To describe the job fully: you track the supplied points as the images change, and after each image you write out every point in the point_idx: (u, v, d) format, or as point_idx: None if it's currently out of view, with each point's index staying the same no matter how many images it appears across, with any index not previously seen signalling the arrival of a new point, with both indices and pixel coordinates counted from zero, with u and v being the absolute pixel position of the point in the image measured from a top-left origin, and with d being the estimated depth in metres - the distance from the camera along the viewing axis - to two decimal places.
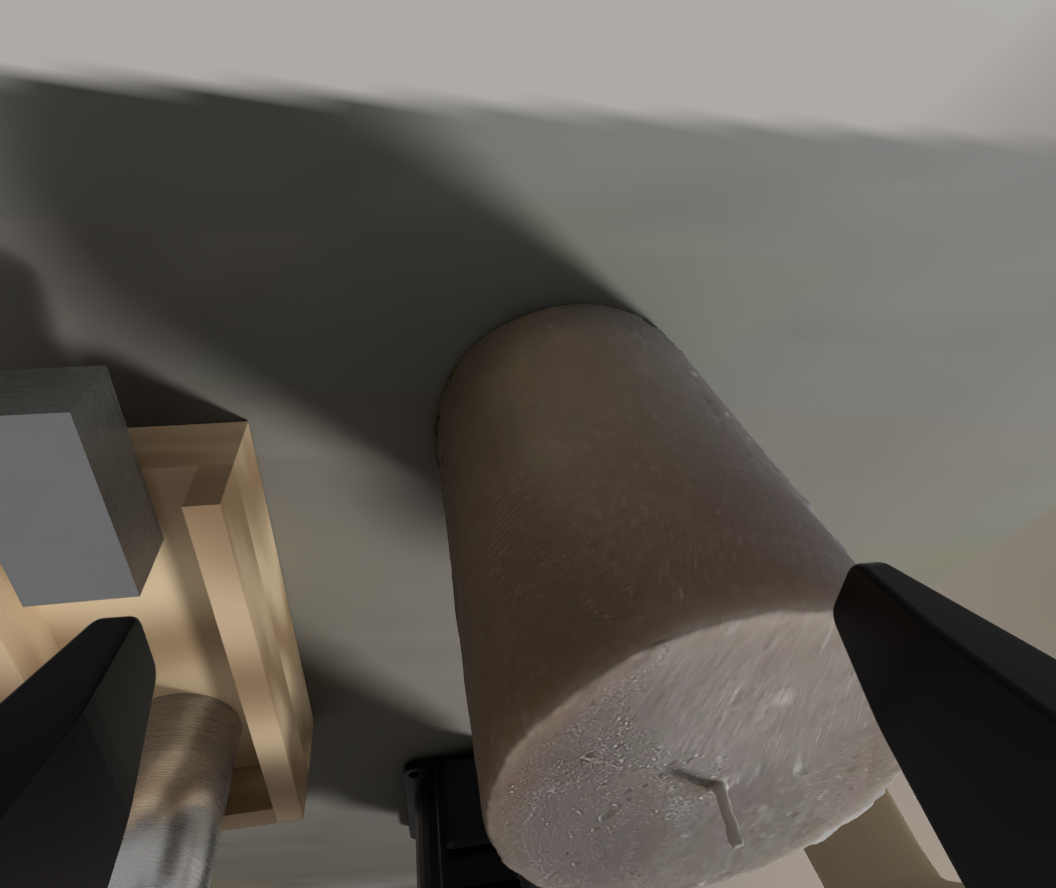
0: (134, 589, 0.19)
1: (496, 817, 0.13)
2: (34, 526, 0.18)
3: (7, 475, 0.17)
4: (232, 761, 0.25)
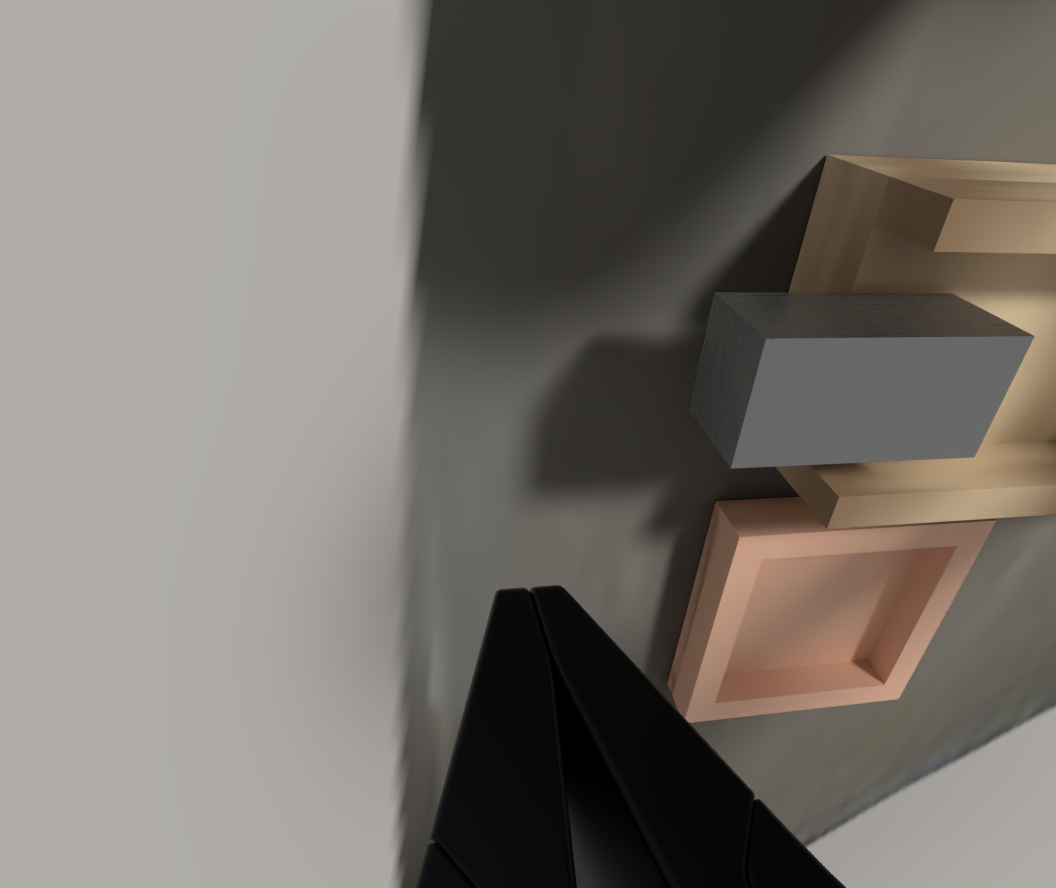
0: (1021, 339, 0.14)
1: None
2: (885, 416, 0.15)
3: (816, 421, 0.14)
4: None
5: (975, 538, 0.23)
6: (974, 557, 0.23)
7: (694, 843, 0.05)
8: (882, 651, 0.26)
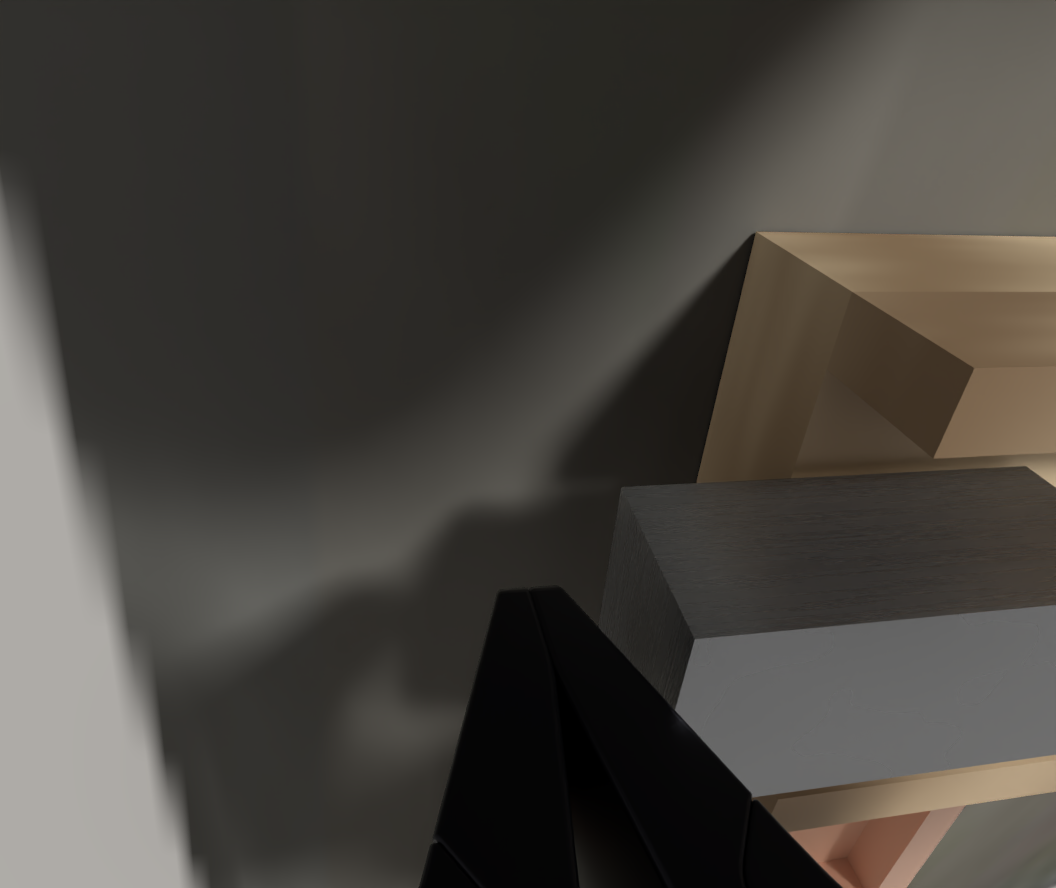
0: None
1: None
2: (922, 720, 0.08)
3: (797, 739, 0.08)
4: None
5: None
6: None
7: (691, 843, 0.05)
8: (867, 855, 0.20)
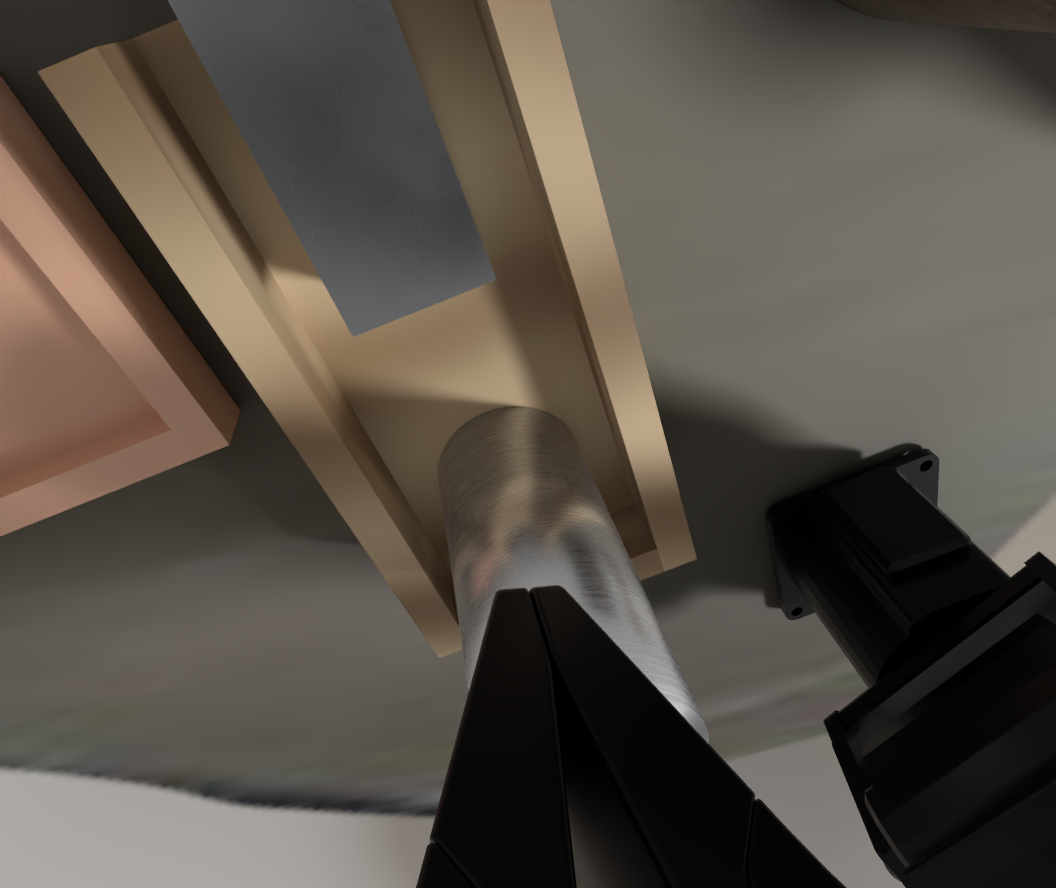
0: (488, 267, 0.13)
1: None
2: (341, 176, 0.12)
3: (289, 78, 0.11)
4: (593, 478, 0.18)
5: (193, 442, 0.18)
6: (173, 466, 0.18)
7: (694, 843, 0.05)
8: None
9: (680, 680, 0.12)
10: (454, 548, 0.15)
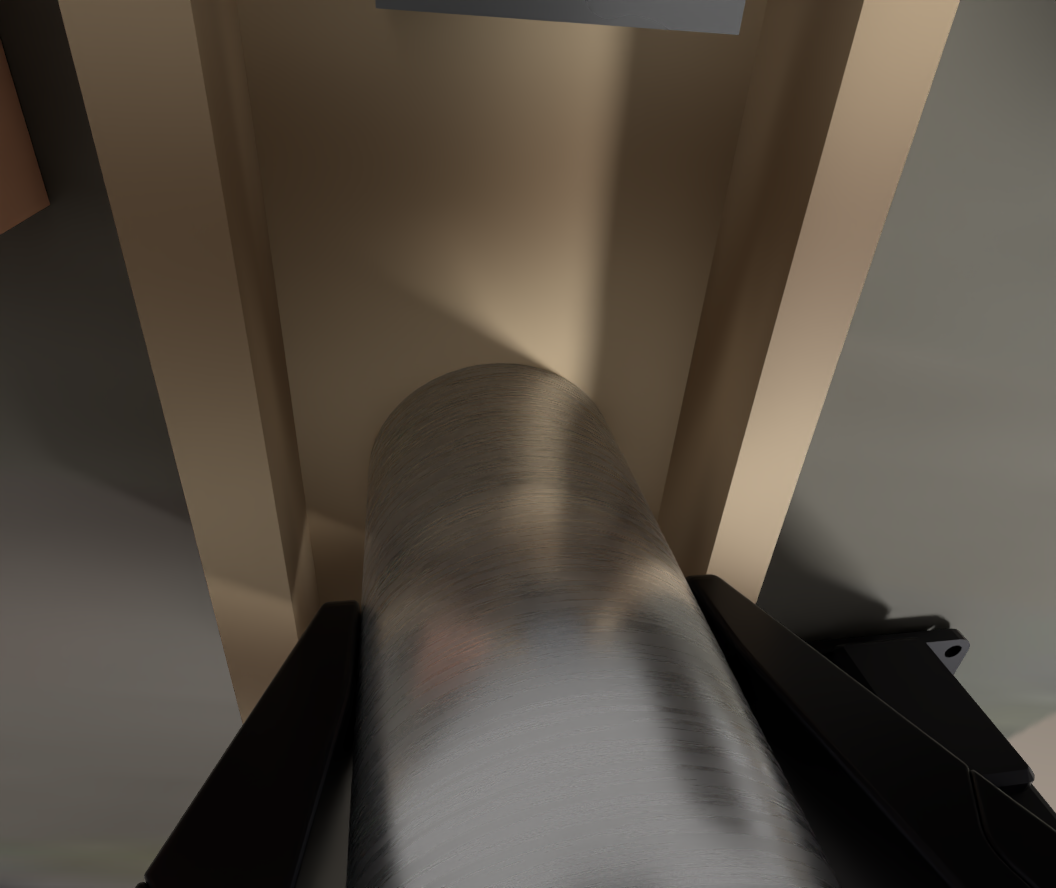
0: None
1: None
2: None
3: None
4: None
5: None
6: None
7: (922, 810, 0.06)
8: None
9: None
10: (391, 586, 0.07)
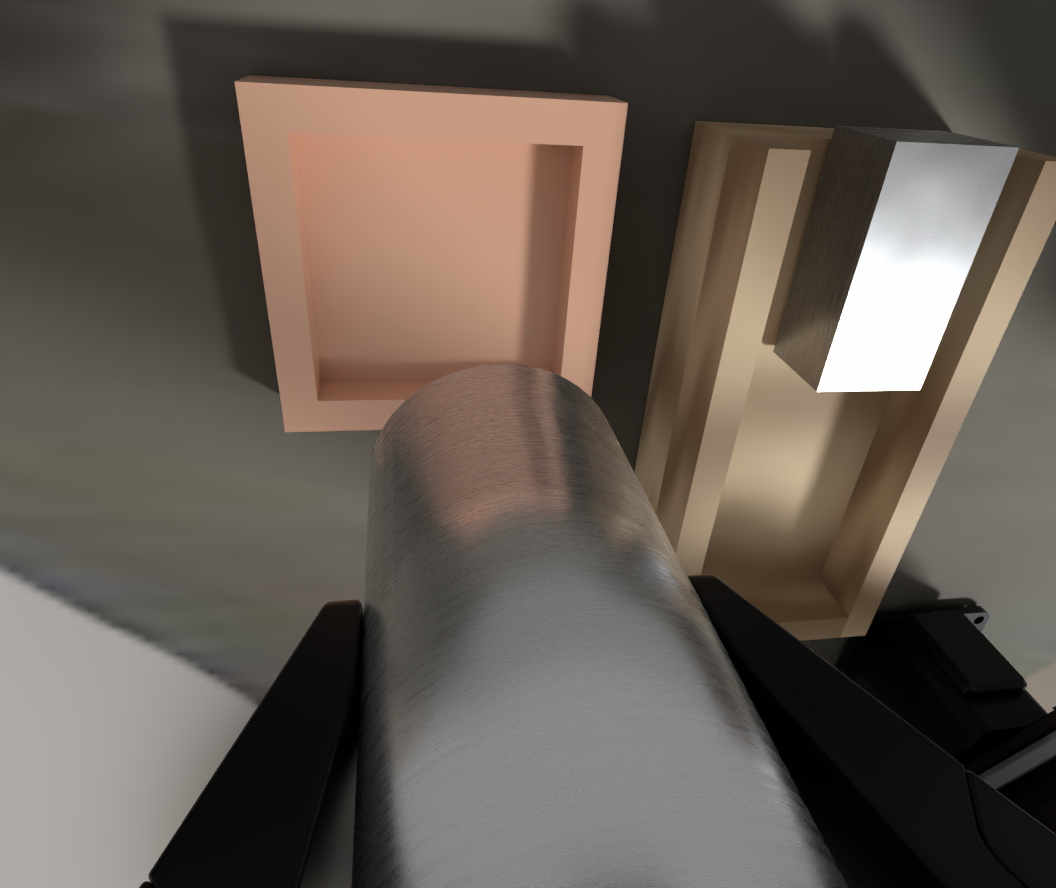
0: (922, 380, 0.18)
1: None
2: (893, 290, 0.16)
3: (914, 222, 0.16)
4: None
5: None
6: None
7: (917, 811, 0.06)
8: (356, 388, 0.20)
9: None
10: (394, 588, 0.07)
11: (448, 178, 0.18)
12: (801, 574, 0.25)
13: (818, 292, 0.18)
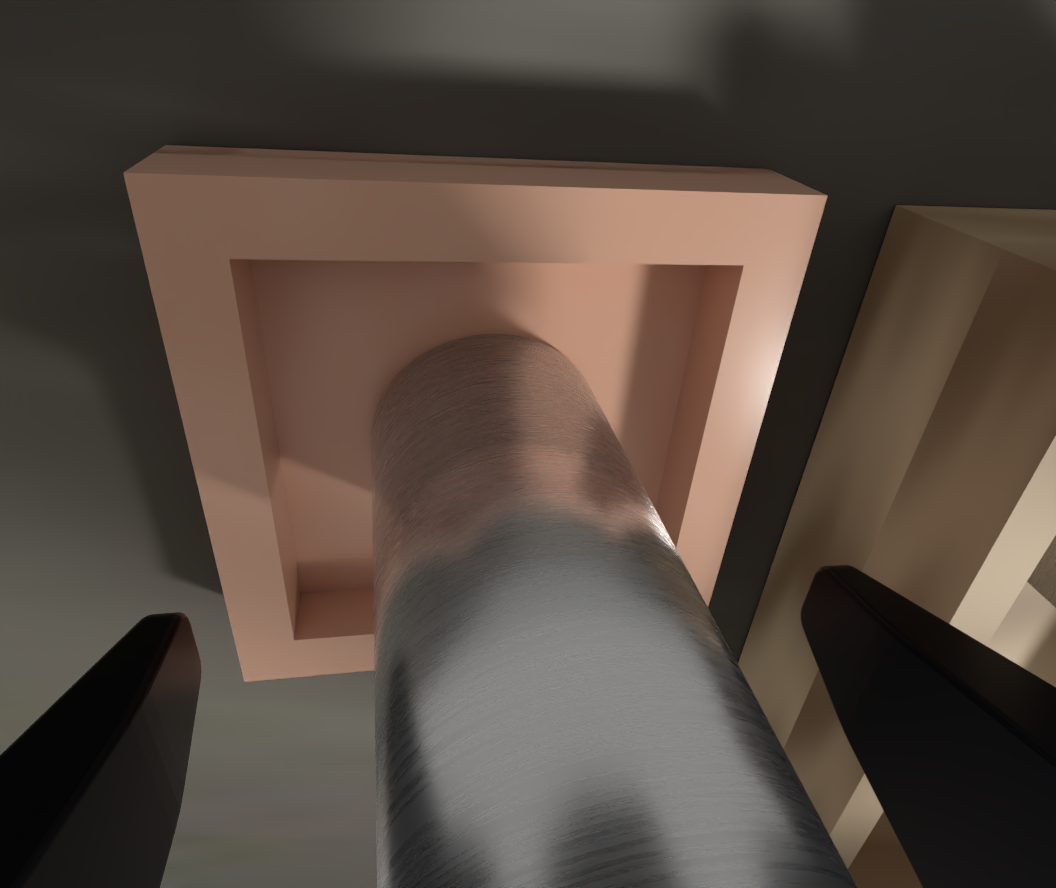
0: None
1: None
2: None
3: None
4: None
5: None
6: None
7: None
8: (354, 606, 0.13)
9: None
10: (403, 531, 0.08)
11: (505, 306, 0.11)
12: None
13: None
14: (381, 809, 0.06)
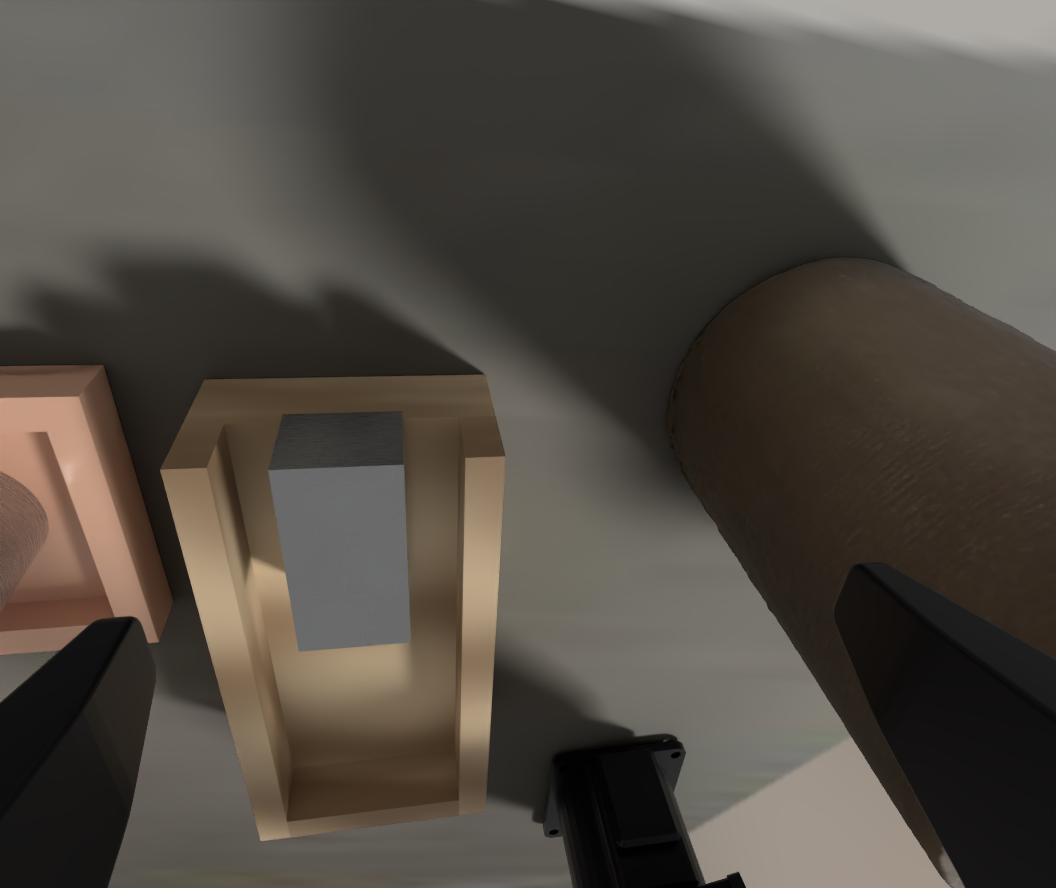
0: (408, 635, 0.19)
1: None
2: (334, 574, 0.17)
3: (325, 524, 0.16)
4: (18, 552, 0.19)
5: None
6: None
7: None
8: None
9: None
10: None
11: None
12: (433, 748, 0.26)
13: None
14: None
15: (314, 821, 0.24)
